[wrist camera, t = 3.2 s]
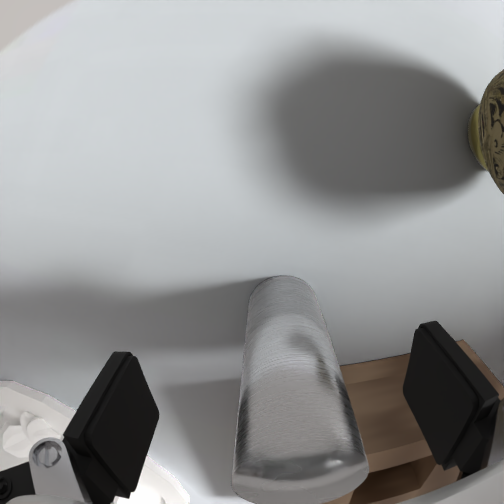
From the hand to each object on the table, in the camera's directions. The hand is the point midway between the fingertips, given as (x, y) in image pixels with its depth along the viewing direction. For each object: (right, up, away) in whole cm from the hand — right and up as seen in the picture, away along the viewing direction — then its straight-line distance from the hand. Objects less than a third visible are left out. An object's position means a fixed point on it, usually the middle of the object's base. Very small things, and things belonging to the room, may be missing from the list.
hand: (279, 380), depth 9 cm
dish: (-19, -18, +12) cm, 29 cm away
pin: (+1, +2, +5) cm, 5 cm away
